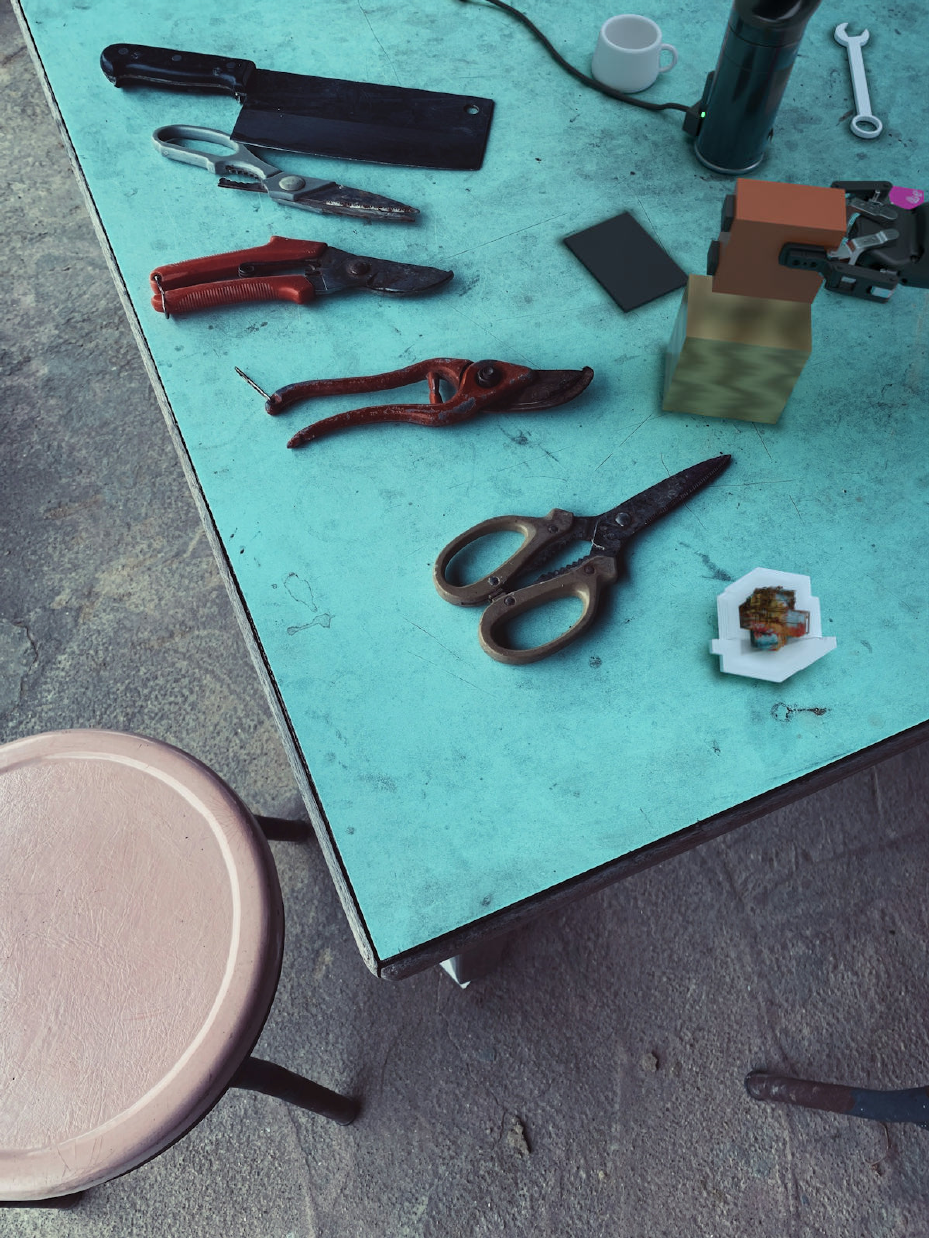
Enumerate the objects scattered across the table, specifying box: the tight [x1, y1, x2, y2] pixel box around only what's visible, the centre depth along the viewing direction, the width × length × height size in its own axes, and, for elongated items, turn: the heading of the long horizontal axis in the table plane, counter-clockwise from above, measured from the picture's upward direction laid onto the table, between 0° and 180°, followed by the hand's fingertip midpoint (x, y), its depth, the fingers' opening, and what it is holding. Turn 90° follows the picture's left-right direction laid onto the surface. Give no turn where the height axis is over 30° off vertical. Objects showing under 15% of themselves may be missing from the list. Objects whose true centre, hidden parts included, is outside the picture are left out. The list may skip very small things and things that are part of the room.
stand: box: [661, 273, 813, 425], centre depth 103 cm, size 13×9×12 cm
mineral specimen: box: [708, 566, 838, 683], centre depth 91 cm, size 12×12×7 cm
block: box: [705, 177, 847, 305], centre depth 90 cm, size 11×6×9 cm, turn 82°
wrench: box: [833, 22, 883, 139], centre depth 133 cm, size 25×1×5 cm
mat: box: [562, 211, 689, 314], centre depth 117 cm, size 14×10×1 cm
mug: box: [591, 13, 679, 94], centre depth 131 cm, size 12×10×6 cm
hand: (781, 229), depth 88 cm, fingers closed on block, 5 cm apart
